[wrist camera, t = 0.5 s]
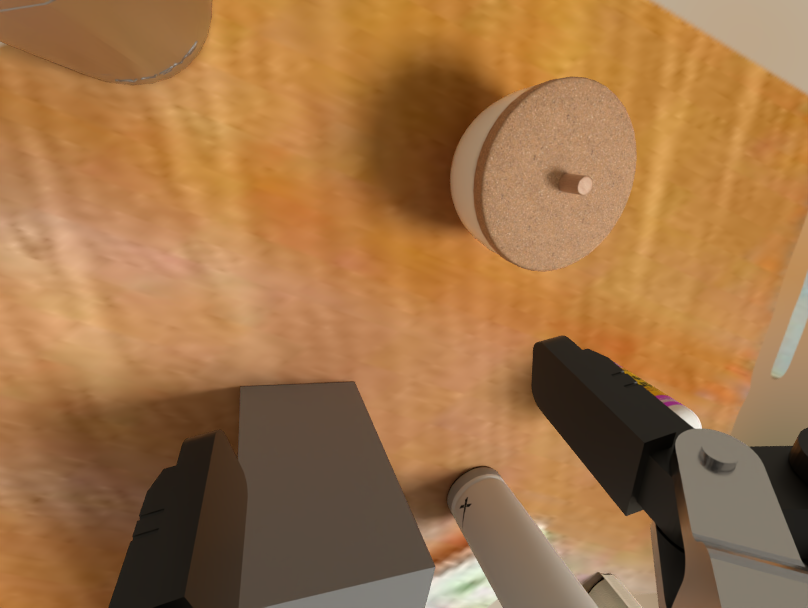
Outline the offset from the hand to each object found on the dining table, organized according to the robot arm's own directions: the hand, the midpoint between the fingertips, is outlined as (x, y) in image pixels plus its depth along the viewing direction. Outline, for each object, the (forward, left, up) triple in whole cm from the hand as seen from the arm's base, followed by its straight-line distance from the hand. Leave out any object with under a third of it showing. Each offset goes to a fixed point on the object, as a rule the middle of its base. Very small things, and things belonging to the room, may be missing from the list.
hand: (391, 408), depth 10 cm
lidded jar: (+2, +15, -19) cm, 24 cm away
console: (+19, -12, -19) cm, 30 cm away
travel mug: (+31, +2, -19) cm, 37 cm away
